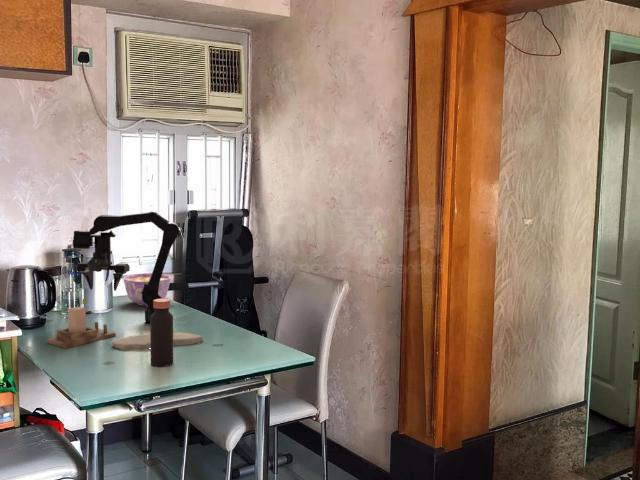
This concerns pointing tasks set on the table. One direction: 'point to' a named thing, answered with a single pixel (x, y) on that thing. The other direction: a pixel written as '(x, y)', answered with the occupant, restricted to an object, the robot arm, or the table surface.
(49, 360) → the table surface
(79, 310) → the clay bar
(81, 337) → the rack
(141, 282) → the bowl of food
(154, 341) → the bottle
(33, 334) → the table surface
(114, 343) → the stone tablet
